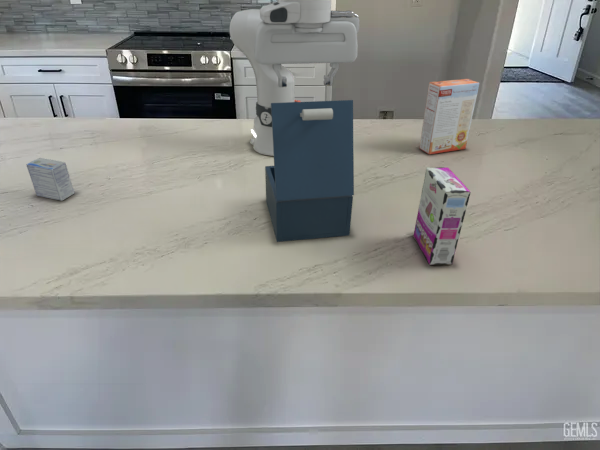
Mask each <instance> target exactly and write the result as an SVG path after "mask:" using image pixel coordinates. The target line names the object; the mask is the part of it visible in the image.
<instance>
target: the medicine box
mask: <svg viewBox="0 0 600 450" xmlns="http://www.w3.org/2000/svg"><path fill="white" fill-rule="evenodd" d="M26 169H27V172H28V174H29V177H30V180H31V183H32V186H33V189H34V191H35V195H36V196H37V197H41V198H47V199H50V200H51V199H52V200H55V201H61V202H63V201H64V200H67V199H68V198H70V197H72V196H73V195H74V194H75V189H74V186H73V183H72V179H71V177H70V173H69V170H68V166H67V164H66V162H65V161H60V160H56V159H51V158H45V157H39V158H36V159H34V160H32V161H30V162H28V163H26Z"/></svg>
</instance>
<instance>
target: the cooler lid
mask: <svg viewBox="0 0 600 450" xmlns="http://www.w3.org/2000/svg"><path fill="white" fill-rule="evenodd" d="M271 115H272V134H273V153H274V156H273V166H274V171H275V190H276V201H284V200H298V199H311V198H324V197H337V196H350V195H352V196H354V195H355V179H354V178H355V176H354V175H355V172H354V171H355V170H354V169H355V168H354V162H355V159H354V158H355V157H354V100H353V99H345V100H342V99H341V100H318V101H317V100H315V101H313V100H312V101H300V102H286V103H271Z"/></svg>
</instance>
